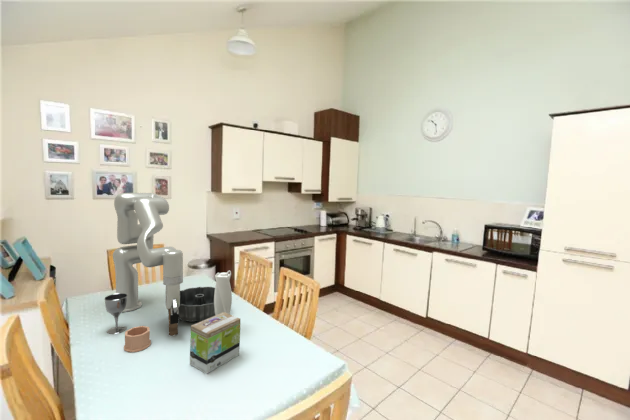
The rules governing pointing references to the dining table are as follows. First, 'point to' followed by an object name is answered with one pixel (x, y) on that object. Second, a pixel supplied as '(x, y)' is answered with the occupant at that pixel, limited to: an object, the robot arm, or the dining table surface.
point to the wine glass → (116, 309)
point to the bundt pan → (196, 304)
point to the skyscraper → (222, 293)
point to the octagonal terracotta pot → (137, 339)
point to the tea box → (214, 341)
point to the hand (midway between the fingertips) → (173, 318)
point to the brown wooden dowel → (172, 326)
